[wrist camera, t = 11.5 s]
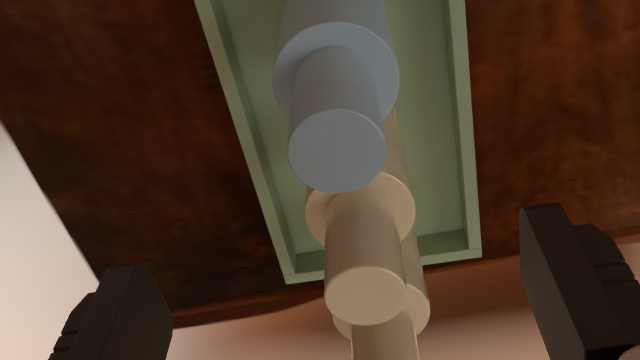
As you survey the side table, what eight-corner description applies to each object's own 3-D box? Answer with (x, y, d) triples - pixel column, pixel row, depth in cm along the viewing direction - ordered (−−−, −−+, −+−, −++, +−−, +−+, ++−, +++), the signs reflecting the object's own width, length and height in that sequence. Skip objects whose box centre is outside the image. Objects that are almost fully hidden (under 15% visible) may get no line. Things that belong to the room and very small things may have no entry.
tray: (191, -55, 27) (179, -42, 25) (447, -111, 25) (458, -101, 23) (288, 257, 37) (286, 284, 35) (474, 230, 36) (482, 257, 34)
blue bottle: (276, -34, 26) (239, 97, 16) (374, -55, 26) (405, 67, 15) (298, 57, 29) (279, 225, 18) (388, 40, 28) (423, 204, 18)
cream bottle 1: (302, 83, 30) (286, 259, 19) (390, 66, 29) (425, 238, 18) (320, 156, 32) (314, 349, 21) (401, 142, 31) (437, 333, 21)
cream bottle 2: (325, 177, 33) (322, 373, 22) (404, 164, 32) (441, 359, 22) (339, 237, 35) (343, 441, 24) (413, 226, 35) (451, 429, 24)
